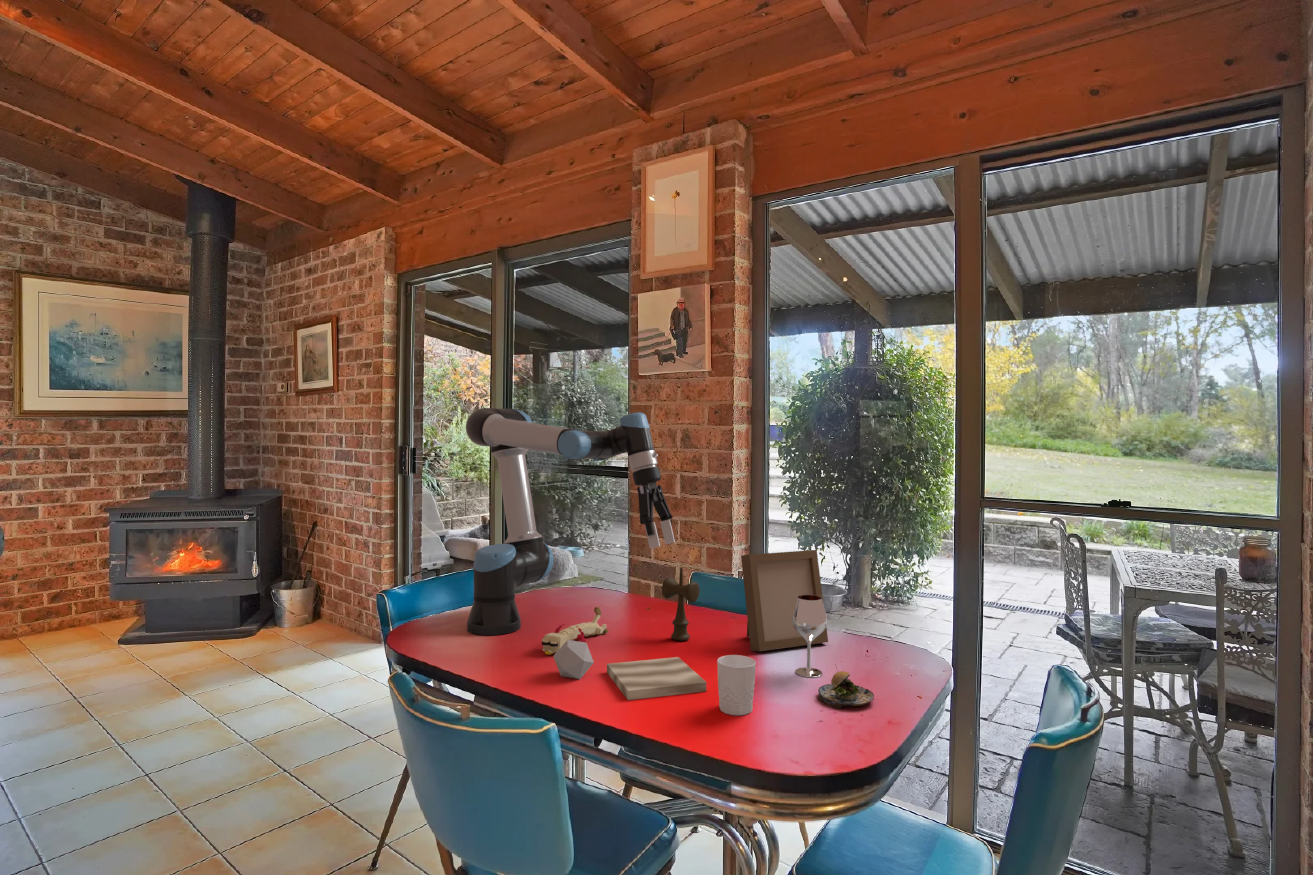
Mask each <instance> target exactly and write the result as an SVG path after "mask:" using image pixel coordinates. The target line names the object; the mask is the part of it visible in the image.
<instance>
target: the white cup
mask: <svg viewBox="0 0 1313 875" xmlns="http://www.w3.org/2000/svg"><path fill="white" fill-rule="evenodd" d="M716 660H717V661H716V662H717V663H716V664H717V687H718V688H717V689H718V690H717V691H718V705H719V709H720V711H721V712H722V713H724V714H727V715H729V716H745V715H748V714H751V713H752V711H753V708H754V707H753V705H754V703H753V702H754V696H755V695H754V694H755V679H756V665H757V664H756V663H757V662H756V660H755V659H753V658H752V657H750V656H746V655H741V654H740V655H739V654H729V655H723V656H720V657H718V658H717V659H716Z"/></svg>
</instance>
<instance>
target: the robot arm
mask: <svg viewBox="0 0 1313 875" xmlns="http://www.w3.org/2000/svg"><path fill="white" fill-rule="evenodd" d="M465 432H466V435H467V437H468V438H469V440H470V441H471V442H473V444H475V445H478V446H479V447H489V448H490V452H491V456H493V457H494V458H495V459H496V460H497V466H498V473H499V481H500V487H501V493H502V501H503V502H502V503H503V508H504V514H505V521H506V528H507V535H508V536H507V538H506V539H505V541H504V543H497V544H490V545H486V546H483V547H481V548H479V549H477V550H476V552H475V553H474V556H473V557H474V558H473V565H472V567H473V602H472V607H471V608H470V612H469V615H468V617H467V620H466V631H468V633H470V634H474V635H478V636H479V635H481V636H497V635H499V636H500V635H506V634H511V633H514V632H517V631H518V630H521V624H522V620H521V619H522V618H521V615H520V613H519V609H518V607H517V603H516V588H517V587H520V586H524V585H528V584H533V583H537V582H539V581H542V580H544V579H546V578H547V577H548V576H549V574H550V573H551V571H552V569H553V566H554V554H553V550H552V548H551V547H549V545H548V544H546V543H545V542H544V538H543V535H542V534H540V533H539V531H537V524H536V517H535V513H534V506H533V498H532V491H531V487H530V486H531V485H530V484H531V483H530V478H529V471H528V465H527V459H526V458H527V457H526V454H527V453H528V452H529V451H530V450H531V451H536V452H543V453H547V454H553V455H557V456H562V457H564V458H566V459H569V460H581V459H591V460H593V461H595V462H600V461H604V460H605V461H606V460H608V459H610V458H613V457H616V456H619V455H622V454H627V458H628V462H629V467H630V471H633V472H632V480H633V484H634V486H637V487H636V489H637V495H638V512H639V523H640V525H644V529H645V533H646V538H647V543H648V547H649V549H650V550H651V549H656V548H660V547H661V544H660V539H659V535H658V530H657V526H656V522H655V521H654V510H655V511H656V514H657V515H658V517H659V519H660V522H659V523H660V527H661V531H662V536H663V539H664V544H665V545H670V544H674V543H676V540H675V537H674V531H673V527H672V523H671V519H673V515H672V513H671V511H670V507H669V505H668V503H667V500H666V498H665V494H664V492H663V489H662V485H661V484H659V485H658V484H657V482H659V481H661V480H662V474H661V470H660V467H658V464H659V463H658V458H657V457H658V456H659V455H658V453H656V450H655V447H654V442H653V439H652V438H653V437H652V433H651V426H650V425H649V421H648V418H647V414H645V413H644V412H633V413H629V414H626V415H623V416H621V417H620V418H619V426H617V427H613V428H611V429H608V430H583V429H582V430H581V429H574V428H566V427H560V426H555V425H547V424H543V423H542V424H541V423H535V422H533V421H532V419H531V417H530V416H529V414H527V413H525V411H522V410H519V409H515V408H496V407H495V408H493V407H482V408H479V409H476V410H475V411H473V412H471V413H470V415H469V416H468V418H467V420H466V423H465Z"/></svg>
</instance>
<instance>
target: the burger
mask: <svg viewBox="0 0 1313 875" xmlns="http://www.w3.org/2000/svg"><path fill="white" fill-rule="evenodd" d="M834 665H835V668H836V670H837V672H836V673H834V674H833V676H832V678H831V681H830V682H831V683H828V684H823V685H821V686H820V687H819V688H818V695H817V699H818V701H819V702H820V703H821V704H823V705H825V706H828V707H831V708H834V709H835V710H836V709H837V710H841V709H842V707H843V706H848V707H850V706H851V707H858V706H859V707H860V706H863V705H866V704H868V703H870V702H871V701H873V700H875V694H874V693H873V692H872V690H869V688H864V687H862V686H859V685H857V684H855V683H854V682H853V681H852V680H851V679H848V678H849V677H850V676H851V673H849V672H847V671H844V670H843V671H842V670H841V671H840V670H839V671H838V668H837V665H836V663H834Z"/></svg>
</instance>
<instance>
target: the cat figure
mask: <svg viewBox="0 0 1313 875" xmlns="http://www.w3.org/2000/svg"><path fill="white" fill-rule="evenodd" d="M593 611H594V613H595V615H594V617H593V619H592V621H588V622H581V623H578V624H574V625H570V626H568V627H567V628H564V629H562V628H563V626H565V623H563V624H561V625H559V626H558V627H557V628H555V630H554V631H553V632H550V633H546V634H544V636H543V638H542V639H541V645H542V650H541V651H543V652H544V653H545V654H544V655H553V654H555V653H556V652H557V651H558V650H559V649H560V648H561V647H562V646H563V645H564V643H565V642H566V641H567V640H572V641H575V639H579V640H578V641H579V642H585V643H587V639H586V638H585V637H588V636H594V635H606V634H608V633H609V629H608V627H607V624H606V623H604V624H601V625H599V623H598V621H599V620H600V618H601V616H602V610H601V608H600V606H595V607H594V608H593Z"/></svg>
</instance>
